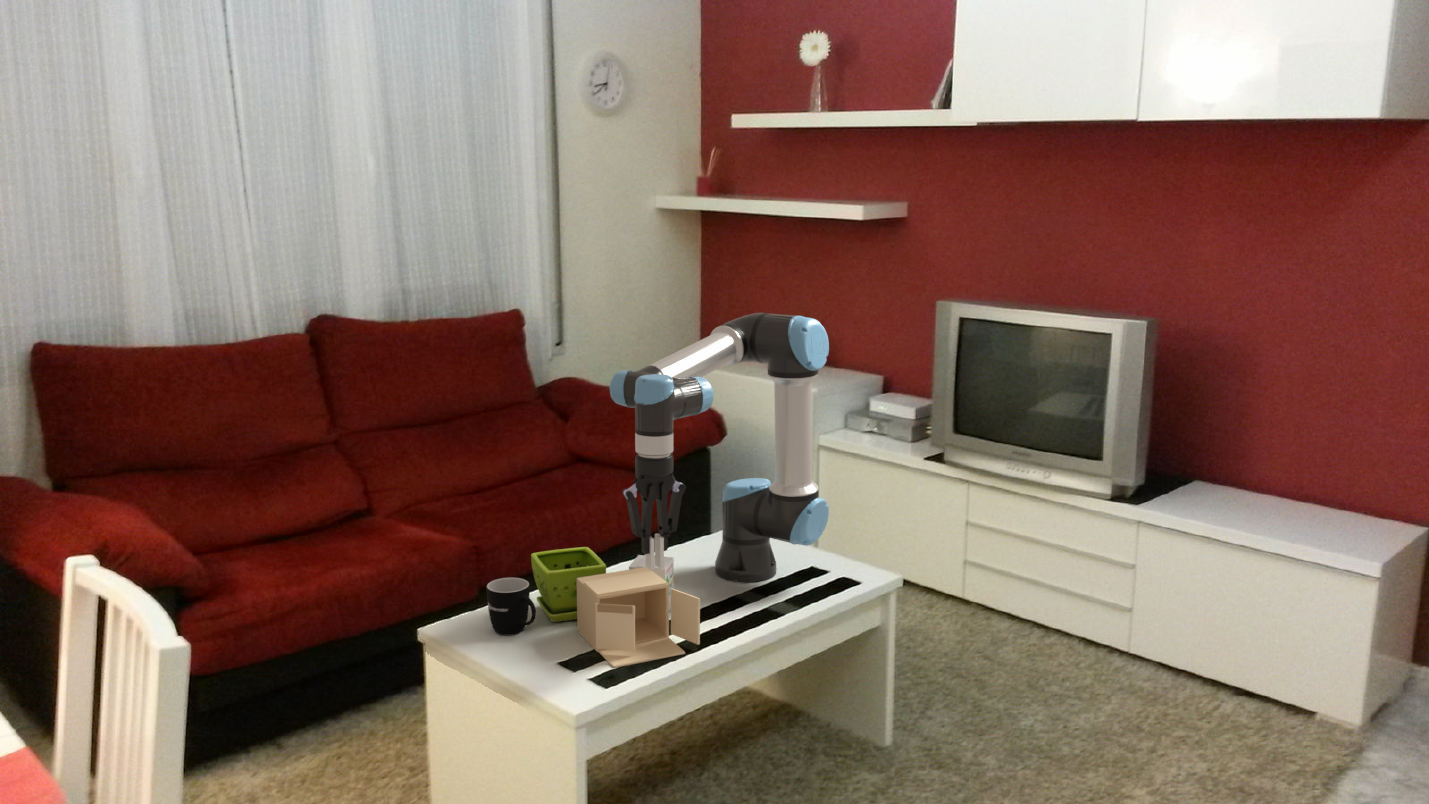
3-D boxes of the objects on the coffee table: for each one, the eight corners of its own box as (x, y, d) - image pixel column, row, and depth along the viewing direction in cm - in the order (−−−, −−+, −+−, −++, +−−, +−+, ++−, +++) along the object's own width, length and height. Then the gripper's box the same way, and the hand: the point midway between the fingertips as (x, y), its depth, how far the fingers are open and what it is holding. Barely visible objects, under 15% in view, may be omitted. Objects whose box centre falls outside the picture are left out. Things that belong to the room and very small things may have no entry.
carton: (660, 616, 250) (660, 562, 248) (700, 650, 232) (701, 593, 230) (577, 631, 241) (576, 576, 239) (612, 668, 224) (612, 609, 221)
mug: (479, 631, 241) (477, 586, 239) (508, 618, 248) (507, 574, 246) (521, 644, 234) (519, 598, 232) (549, 630, 242) (548, 585, 240)
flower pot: (546, 628, 243) (545, 572, 240) (530, 606, 255) (528, 552, 253) (608, 619, 248) (608, 563, 246) (589, 597, 261) (588, 544, 258)
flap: (635, 650, 229) (634, 605, 227) (634, 651, 228) (634, 606, 226) (596, 647, 230) (596, 603, 228) (596, 648, 229) (595, 604, 227)
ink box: (665, 619, 248) (665, 569, 246) (627, 616, 250) (627, 566, 248) (674, 605, 257) (674, 556, 254) (638, 602, 258) (637, 553, 256)
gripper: (679, 445, 229) (679, 556, 234) (613, 453, 223) (614, 566, 227) (695, 454, 222) (695, 567, 227) (627, 461, 216) (628, 578, 221)
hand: (654, 567), depth 227 cm, fingers closed
